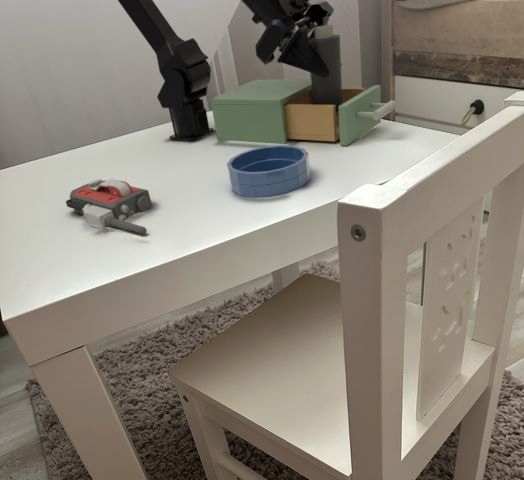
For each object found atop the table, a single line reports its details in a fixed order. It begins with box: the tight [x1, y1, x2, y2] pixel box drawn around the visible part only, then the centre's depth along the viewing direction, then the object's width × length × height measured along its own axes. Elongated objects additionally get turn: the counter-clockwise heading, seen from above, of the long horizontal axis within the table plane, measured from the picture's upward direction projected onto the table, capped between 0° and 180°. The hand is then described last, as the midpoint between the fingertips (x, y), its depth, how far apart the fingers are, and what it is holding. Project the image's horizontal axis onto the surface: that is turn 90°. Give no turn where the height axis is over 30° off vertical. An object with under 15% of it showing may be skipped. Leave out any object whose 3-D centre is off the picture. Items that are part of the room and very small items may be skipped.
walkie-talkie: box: [65, 178, 153, 234], centre depth 72 cm, size 9×4×20 cm
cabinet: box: [209, 78, 312, 145], centre depth 94 cm, size 15×14×8 cm
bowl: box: [226, 144, 311, 198], centre depth 74 cm, size 11×11×4 cm
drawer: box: [283, 84, 397, 147], centre depth 87 cm, size 18×12×6 cm
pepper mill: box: [309, 24, 343, 112], centre depth 84 cm, size 5×5×12 cm
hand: (333, 71), depth 83 cm, fingers closed on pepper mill, 5 cm apart
